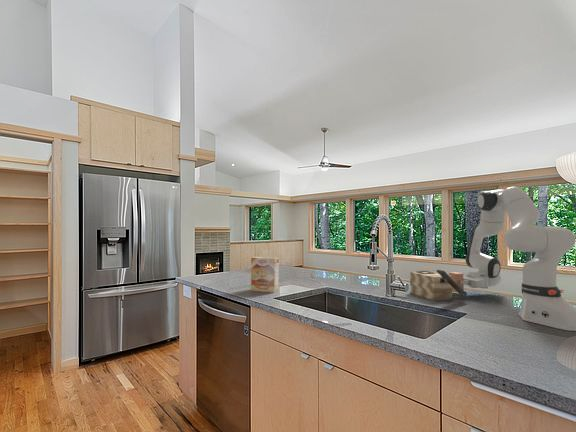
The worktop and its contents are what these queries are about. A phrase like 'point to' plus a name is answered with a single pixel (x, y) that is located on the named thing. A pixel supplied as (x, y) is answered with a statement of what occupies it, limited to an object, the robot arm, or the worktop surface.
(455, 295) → the pad
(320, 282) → the worktop surface
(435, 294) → the beige patterned box
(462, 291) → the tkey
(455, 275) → the reddish pink block
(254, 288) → the coffeecake box
